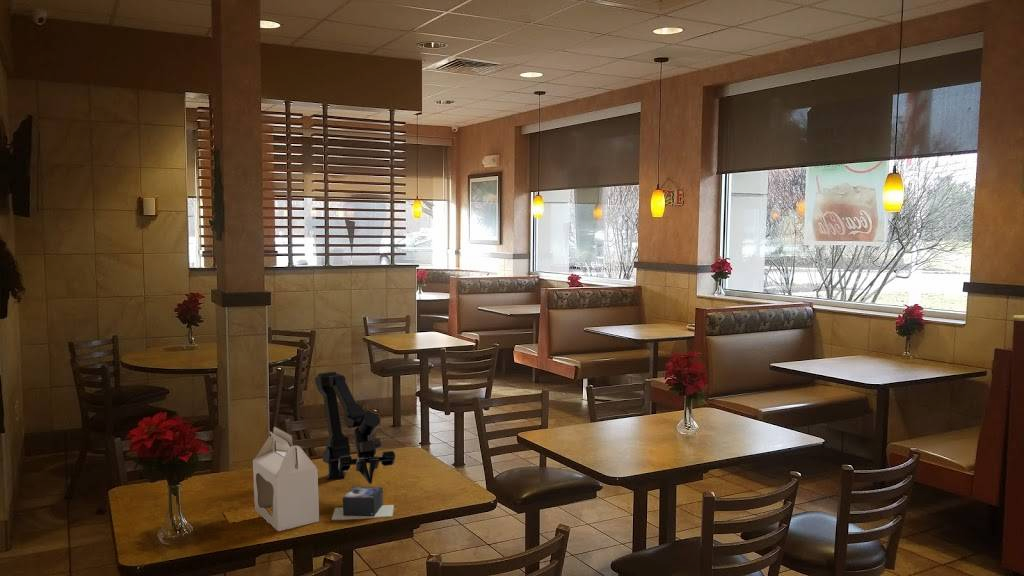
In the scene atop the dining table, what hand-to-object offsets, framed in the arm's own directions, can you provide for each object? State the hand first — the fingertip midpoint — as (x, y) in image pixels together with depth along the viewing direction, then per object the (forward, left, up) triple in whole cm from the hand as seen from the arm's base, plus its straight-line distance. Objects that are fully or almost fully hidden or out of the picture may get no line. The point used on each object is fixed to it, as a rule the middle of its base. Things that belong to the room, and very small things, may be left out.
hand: (370, 483), depth 254 cm
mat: (+8, -2, -7) cm, 11 cm away
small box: (+2, -1, -3) cm, 4 cm away
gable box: (+8, -26, -7) cm, 28 cm away
